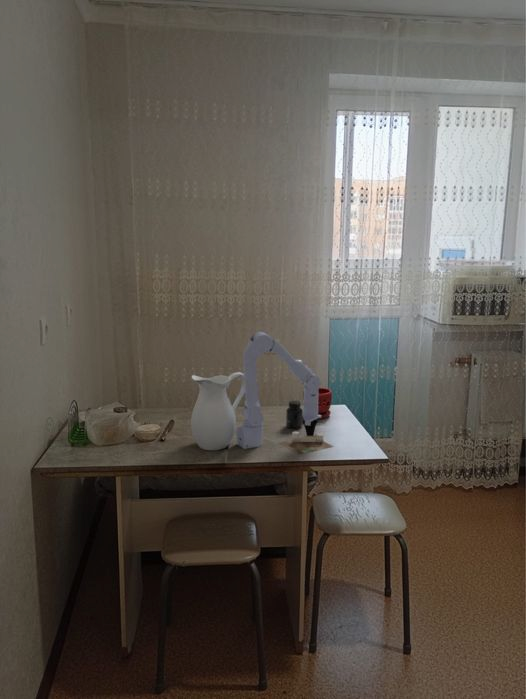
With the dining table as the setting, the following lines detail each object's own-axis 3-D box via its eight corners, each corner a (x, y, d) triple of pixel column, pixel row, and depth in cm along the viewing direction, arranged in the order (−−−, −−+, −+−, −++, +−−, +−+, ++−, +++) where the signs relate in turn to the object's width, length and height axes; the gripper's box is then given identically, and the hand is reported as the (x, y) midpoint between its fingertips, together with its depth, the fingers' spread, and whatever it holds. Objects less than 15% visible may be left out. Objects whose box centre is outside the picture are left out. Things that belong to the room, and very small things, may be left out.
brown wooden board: (299, 457, 192) (299, 453, 191) (278, 445, 203) (278, 442, 203) (334, 449, 200) (334, 446, 199) (312, 438, 212) (312, 435, 211)
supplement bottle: (283, 430, 221) (283, 402, 219) (290, 426, 227) (290, 399, 225) (298, 433, 218) (298, 405, 216) (304, 428, 224) (305, 401, 222)
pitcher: (204, 456, 192) (202, 382, 187) (184, 443, 206) (182, 373, 201) (259, 444, 205) (259, 374, 200) (236, 432, 219) (236, 366, 214)
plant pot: (328, 411, 249) (329, 386, 247) (333, 419, 236) (334, 393, 234) (300, 411, 248) (301, 386, 246) (304, 420, 235) (305, 394, 233)
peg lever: (292, 442, 202) (292, 434, 201) (291, 439, 205) (292, 431, 205) (323, 442, 202) (324, 434, 202) (322, 439, 205) (322, 431, 205)
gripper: (318, 410, 196) (317, 444, 199) (323, 399, 210) (322, 432, 213) (299, 408, 198) (299, 443, 201) (306, 398, 212) (305, 431, 214)
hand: (310, 437), depth 207 cm, fingers closed
